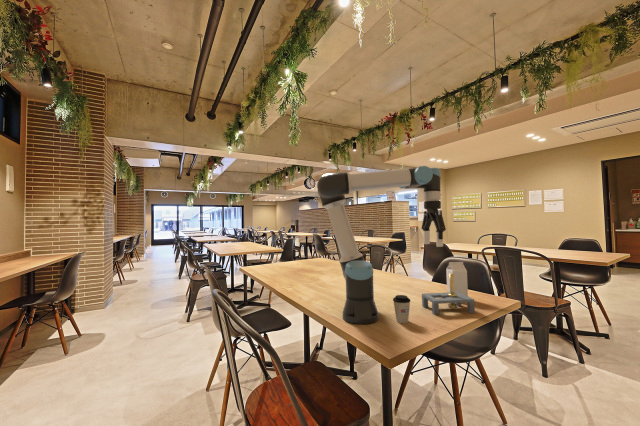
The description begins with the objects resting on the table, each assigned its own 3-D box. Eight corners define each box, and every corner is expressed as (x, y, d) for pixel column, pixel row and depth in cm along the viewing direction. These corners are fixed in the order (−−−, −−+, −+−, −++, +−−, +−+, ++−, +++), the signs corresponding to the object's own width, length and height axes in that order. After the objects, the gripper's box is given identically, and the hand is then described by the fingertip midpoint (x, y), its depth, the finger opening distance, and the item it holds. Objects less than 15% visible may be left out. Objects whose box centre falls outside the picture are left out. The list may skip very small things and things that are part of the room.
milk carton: (468, 301, 134) (466, 263, 135) (453, 301, 134) (452, 263, 135) (461, 297, 141) (459, 260, 142) (447, 297, 141) (445, 261, 142)
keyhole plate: (434, 315, 116) (434, 301, 117) (422, 306, 128) (421, 293, 129) (474, 313, 118) (474, 299, 118) (458, 304, 129) (458, 292, 130)
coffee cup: (390, 319, 112) (389, 295, 113) (403, 317, 115) (402, 293, 115) (401, 325, 106) (400, 299, 106) (415, 322, 109) (414, 297, 109)
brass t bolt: (450, 308, 121) (449, 275, 122) (446, 306, 125) (445, 273, 125) (459, 308, 121) (457, 274, 122) (454, 305, 125) (453, 273, 126)
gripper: (453, 198, 117) (454, 247, 117) (428, 202, 142) (429, 243, 141) (436, 198, 117) (437, 247, 116) (414, 202, 142) (415, 243, 141)
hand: (432, 245), depth 129 cm, fingers open, 13 cm apart
